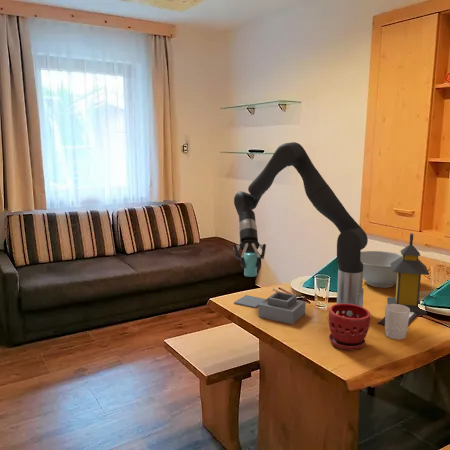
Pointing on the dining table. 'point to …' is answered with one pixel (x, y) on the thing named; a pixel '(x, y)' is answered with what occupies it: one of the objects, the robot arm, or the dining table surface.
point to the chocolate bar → (411, 318)
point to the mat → (249, 301)
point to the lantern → (408, 278)
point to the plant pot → (348, 326)
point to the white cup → (396, 321)
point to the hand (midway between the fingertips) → (251, 267)
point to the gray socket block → (282, 308)
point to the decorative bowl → (379, 268)
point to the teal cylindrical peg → (250, 264)
